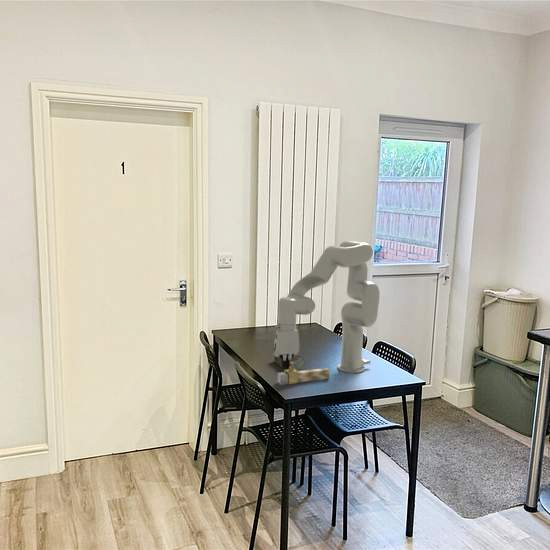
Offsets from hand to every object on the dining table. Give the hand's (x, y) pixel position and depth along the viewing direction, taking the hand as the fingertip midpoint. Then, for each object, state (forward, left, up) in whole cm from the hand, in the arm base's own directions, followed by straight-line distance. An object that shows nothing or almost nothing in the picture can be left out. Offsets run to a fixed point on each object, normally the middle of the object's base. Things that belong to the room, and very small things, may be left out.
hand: (285, 368), depth 233 cm
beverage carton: (-11, -20, -7) cm, 24 cm away
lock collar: (-3, 0, -6) cm, 7 cm away
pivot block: (+1, 0, -6) cm, 7 cm away
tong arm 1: (-12, -1, -6) cm, 13 cm away
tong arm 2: (-12, +1, -6) cm, 13 cm away
